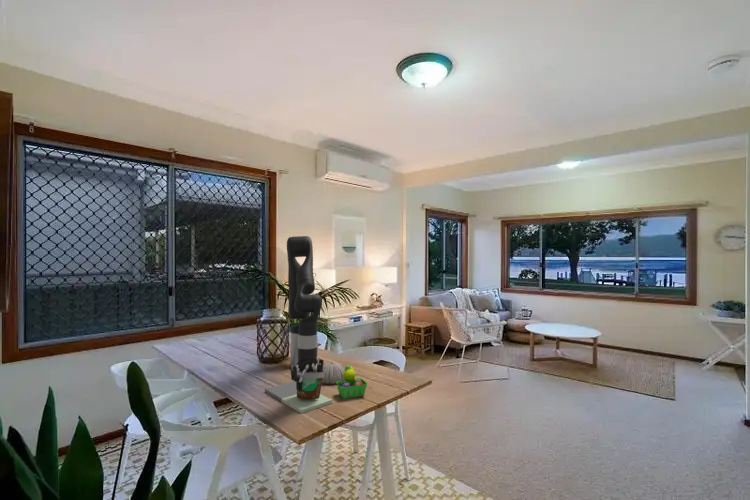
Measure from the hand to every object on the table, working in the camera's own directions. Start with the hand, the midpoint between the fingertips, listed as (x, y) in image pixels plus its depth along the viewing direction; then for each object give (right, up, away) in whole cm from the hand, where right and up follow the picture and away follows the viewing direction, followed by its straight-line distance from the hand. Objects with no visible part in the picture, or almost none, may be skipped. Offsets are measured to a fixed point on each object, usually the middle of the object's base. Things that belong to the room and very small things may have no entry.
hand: (307, 388), depth 141 cm
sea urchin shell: (+6, -6, +25) cm, 27 cm away
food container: (-1, -3, -1) cm, 4 cm away
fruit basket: (+17, -6, +8) cm, 19 cm away
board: (-5, -5, +5) cm, 9 cm away
